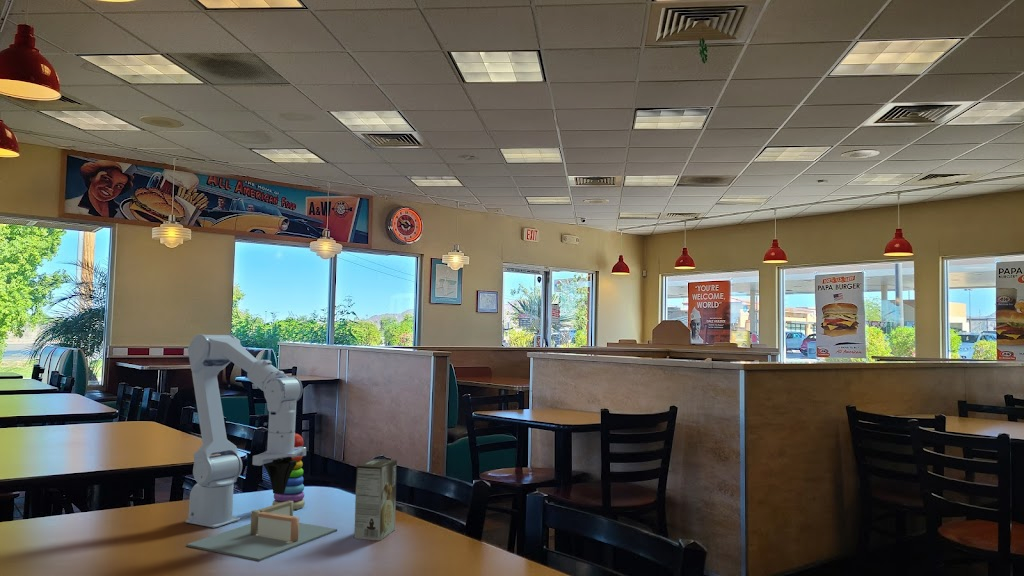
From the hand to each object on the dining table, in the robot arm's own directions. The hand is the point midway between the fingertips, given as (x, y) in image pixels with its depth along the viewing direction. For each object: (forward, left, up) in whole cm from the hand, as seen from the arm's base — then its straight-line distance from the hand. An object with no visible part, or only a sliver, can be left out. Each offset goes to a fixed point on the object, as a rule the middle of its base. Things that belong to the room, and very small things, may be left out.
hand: (278, 493), depth 157 cm
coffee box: (+18, +11, -10) cm, 23 cm away
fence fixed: (-4, +3, -9) cm, 11 cm away
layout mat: (-1, -3, -9) cm, 10 cm away
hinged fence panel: (+2, -2, -9) cm, 9 cm away
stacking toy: (-15, +20, -10) cm, 27 cm away
